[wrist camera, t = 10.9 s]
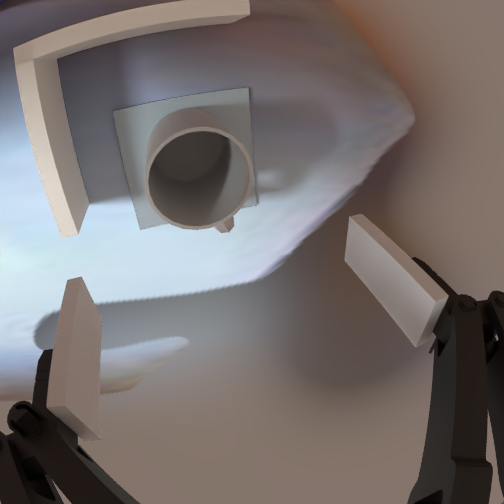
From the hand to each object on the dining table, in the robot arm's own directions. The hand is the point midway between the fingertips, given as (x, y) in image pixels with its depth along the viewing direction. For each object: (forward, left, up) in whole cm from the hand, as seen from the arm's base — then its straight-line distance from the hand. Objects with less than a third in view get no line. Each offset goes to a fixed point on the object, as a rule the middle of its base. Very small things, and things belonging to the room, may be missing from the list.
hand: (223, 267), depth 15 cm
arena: (-3, +6, -17) cm, 18 cm away
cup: (+1, 0, -17) cm, 17 cm away
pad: (0, 0, -17) cm, 17 cm away
